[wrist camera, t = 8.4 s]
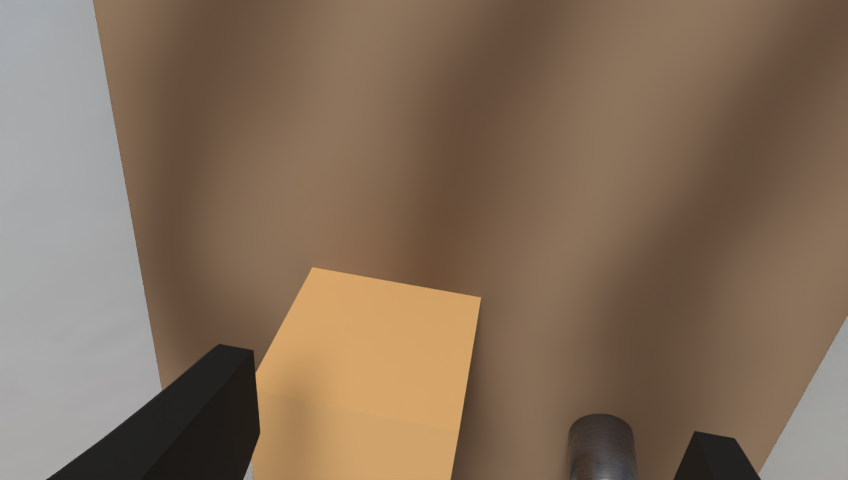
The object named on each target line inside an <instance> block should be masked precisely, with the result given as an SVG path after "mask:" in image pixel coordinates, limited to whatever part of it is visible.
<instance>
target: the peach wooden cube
mask: <svg viewBox="0 0 848 480" xmlns="http://www.w3.org/2000/svg"><path fill="white" fill-rule="evenodd" d="M480 301H481V297H476V296H470V295H464V294H459V293H453V292H448V291H442V290H436V289H431V288H425V287H420V286H414V285H409V284H403V283H397V282H392V281H386V280H381V279H375V278H369V277H364V276H358V275H353V274H347V273H341V272H336V271H330V270H325V269H319V268H314V267H312V269H311V271H310V273H309V275H308V276H307V278H306V280H305V282H304V284H303V286H302V288H301V290H300V291H299V293H298V295H297V297H296V299H295V301H294V303H293V304H292V306H291V308H290V310H289V312H288V314H287V316H286V318H285V319H284V321H283V323H282V325H281V327H280V329H279V331H278V332H277V334H276V336H275V338H274V340H273V342H272V344H271V346H270V347H269V349H268V351H267V353H266V355H265V357H264V359H263V360H262V362H261V364H260V366H259V368H258V370H257V372H256V385H257V397H258V409H259V421H260V432H261V433H260V436H259V439H258V441H257V444H256V447H255V450H254V452H253V455H252V465H253V478H254V480H450V479H451V474H452V468H453V463H454V457H455V451H456V446H457V440H458V435H459V429H460V423H461V417H462V411H463V404H464V398H465V392H466V386H467V380H468V374H469V368H470V362H471V356H472V350H473V344H474V338H475V332H476V325H477V319H478V313H479V307H480Z"/></svg>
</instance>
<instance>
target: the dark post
mask: <svg viewBox="0 0 848 480" xmlns="http://www.w3.org/2000/svg"><path fill="white" fill-rule="evenodd" d="M569 480H638V471H637V462H636V453H635V444H634V435H633V431H632V429H631V427H630V426H629V425H628V424H627V423H626V422H625V421H624V420H622V419H620V418H618V417H616V416H613V415H609V414H600V413H599V414H590V415H586V416H583V417H581V418H579V419H578V420H576V421H575V422H574V423H573V424H572V426H571V427H570V430H569Z"/></svg>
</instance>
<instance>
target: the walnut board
mask: <svg viewBox="0 0 848 480" xmlns="http://www.w3.org/2000/svg"><path fill="white" fill-rule="evenodd" d="M93 4H94V9H95V15H96V20H97V26H98V32H99V37H100V43H101V49H102V54H103V60H104V66H105V71H106V77H107V82H108V88H109V94H110V99H111V105H112V111H113V116H114V122H115V128H116V133H117V139H118V144H119V150H120V156H121V161H122V167H123V173H124V178H125V184H126V189H127V195H128V201H129V206H130V212H131V218H132V223H133V229H134V235H135V240H136V246H137V251H138V257H139V263H140V268H141V274H142V280H143V285H144V291H145V297H146V302H147V308H148V313H149V319H150V325H151V330H152V336H153V342H154V347H155V353H156V358H157V364H158V370H159V375H160V381H161V387H162V390H164V389H165V388H166V387H167V386H168V385H170V384H171V383H172V382H173V381H174V380H176V379H177V378H178V377H179V376H180V375H182V374H183V373H184V372H185V371H186V370H187V369H189V368H190V367H191V366H192V365H193V364H194V363H196V362H197V361H198V360H199V359H200V358H201V357H203V356H204V355H205V354H206V353H207V352H209V351H210V350H211V349H212V348H213V347H215V346H216V345H218V344H223V345H229V346H234V347H240V348H245V349H251V350H254V362H255V374H256V372H257V370H258V368H259V366H260V364H261V362H262V360H263V359H264V357H265V355H266V353H267V351H268V349H269V347H270V346H271V344H272V342H273V340H274V338H275V336H276V334H277V332H278V331H279V329H280V327H281V325H282V323H283V321H284V319H285V318H286V316H287V314H288V312H289V310H290V308H291V306H292V304H293V303H294V301H295V299H296V297H297V295H298V293H299V291H300V290H301V288H302V286H303V284H304V282H305V280H306V278H307V276H308V275H309V273H310V271H311V269H312V267H314V268H319V269H325V270H330V271H336V272H341V273H347V274H353V275H358V276H364V277H369V278H375V279H381V280H386V281H392V282H397V283H403V284H409V285H414V286H420V287H425V288H431V289H436V290H442V291H448V292H453V293H459V294H464V295H470V296H476V297H481V301H480V307H479V313H478V319H477V325H476V332H475V338H474V344H473V350H472V356H471V362H470V368H469V374H468V380H467V386H466V392H465V398H464V404H463V411H462V417H461V423H460V429H459V435H458V440H457V446H456V451H455V457H454V463H453V468H452V474H451V479H450V480H569V430H570V427H571V426H572V424H573V423H574V422H575V421H576V420H578V419H579V418H581V417H583V416H586V415H590V414H599V413H600V414H609V415H613V416H616V417H618V418H620V419H622V420H624V421H625V422H626V423H627V424H628V425H629V426H630V427H631V429H632V431H633V435H634V444H635V453H636V462H637V471H638V480H673V479H674V477H675V474H676V472H677V470H678V468H679V465H680V463H681V461H682V458H683V456H684V454H685V451H686V449H687V447H688V445H689V442H690V440H691V438H692V435H693V433H694V431H698V432H704V433H709V434H715V435H720V436H726V437H731V438H735V439H736V441H737V442H738V443H739V445H740V446H741V448H742V450H743V451H744V453H745V455H746V456H747V458H748V459H749V461H750V463H751V464H752V466H753V468H754V469H755V471H756V472H757V474H759V472H760V470H761V469H762V467H763V465H764V463H765V462H766V460H767V458H768V456H769V454H770V453H771V451H772V449H773V447H774V445H775V444H776V442H777V440H778V438H779V437H780V435H781V433H782V431H783V429H784V428H785V426H786V424H787V422H788V421H789V419H790V417H791V415H792V413H793V412H794V410H795V408H796V406H797V405H798V403H799V401H800V399H801V397H802V396H803V394H804V392H805V390H806V389H807V387H808V385H809V383H810V381H811V380H812V378H813V376H814V374H815V372H816V371H817V369H818V367H819V365H820V364H821V362H822V360H823V358H824V356H825V355H826V353H827V351H828V349H829V348H830V346H831V344H832V342H833V340H834V339H835V337H836V335H837V333H838V332H839V330H840V328H841V326H842V324H843V323H844V321H845V319H846V317H847V316H848V0H93Z"/></svg>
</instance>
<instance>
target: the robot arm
mask: <svg viewBox="0 0 848 480" xmlns="http://www.w3.org/2000/svg"><path fill="white" fill-rule="evenodd" d="M260 433H261V432H260V421H259V409H258V397H257V385H256V374H255V362H254V350H251V349H245V348H240V347H234V346H229V345H223V344H218V345H216V346H215V347H213V348H212V349H211V350H210V351H209V352H207V353H206V354H205V355H204V356H203V357H201V358H200V359H199V360H198V361H197V362H196V363H194V364H193V365H192V366H191V367H190V368H189V369H187V370H186V371H185V372H184V373H183V374H182V375H180V376H179V377H178V378H177V379H176V380H174V381H173V382H172V383H171V384H170V385H168V386H167V387H166V388H165V389H164V390H162V391H161V392H160V393H159V394H158V395H156V396H155V397H154V398H153V399H152V400H150V401H149V402H148V403H147V404H146V405H144V406H143V407H142V408H141V409H139V410H138V411H137V412H136V413H134V414H133V415H132V416H131V417H129V418H128V419H127V420H126V421H124V422H123V423H122V424H121V425H119V426H118V427H117V428H116V429H114V430H113V431H112V432H110V433H109V434H108V435H107V436H105V437H104V438H103V439H101V440H100V441H99V442H97V443H96V444H95V445H93V446H92V447H90V448H89V449H88V450H86V451H85V452H84V453H82V454H81V455H80V456H78V457H77V458H75V459H74V460H73V461H71V462H70V463H69V464H67V465H66V466H65V467H63V468H62V469H60V470H59V471H58V472H56V473H55V474H54V475H52V476H51V477H49V478H48V479H46V480H243V479H244V476H245V474H246V471H247V469H248V466H249V463H250V461H251V458H252V455H253V452H254V450H255V447H256V444H257V441H258V439H259V436H260ZM673 480H761V479H760V477H759V476H758V474H757V472H756V471H755V469H754V468H753V466H752V464H751V463H750V461H749V459H748V458H747V456H746V455H745V453H744V451H743V450H742V448H741V446H740V445H739V443H738V442H737V441H736V439H735V438H731V437H726V436H720V435H715V434H709V433H704V432H698V431H694V433H693V435H692V438H691V440H690V442H689V445H688V447H687V449H686V451H685V454H684V456H683V458H682V461H681V463H680V465H679V468H678V470H677V472H676V474H675V477H674V479H673Z"/></svg>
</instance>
